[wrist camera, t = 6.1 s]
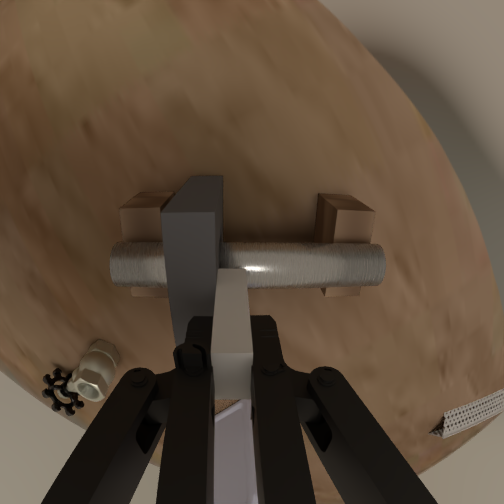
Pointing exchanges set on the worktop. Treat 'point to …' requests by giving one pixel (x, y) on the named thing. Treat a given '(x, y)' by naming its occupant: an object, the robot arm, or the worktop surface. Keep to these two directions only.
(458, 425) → the corner bead
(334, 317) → the worktop surface
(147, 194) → the saddles
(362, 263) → the pipe
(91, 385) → the valve
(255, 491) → the soap bottle
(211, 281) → the collar
